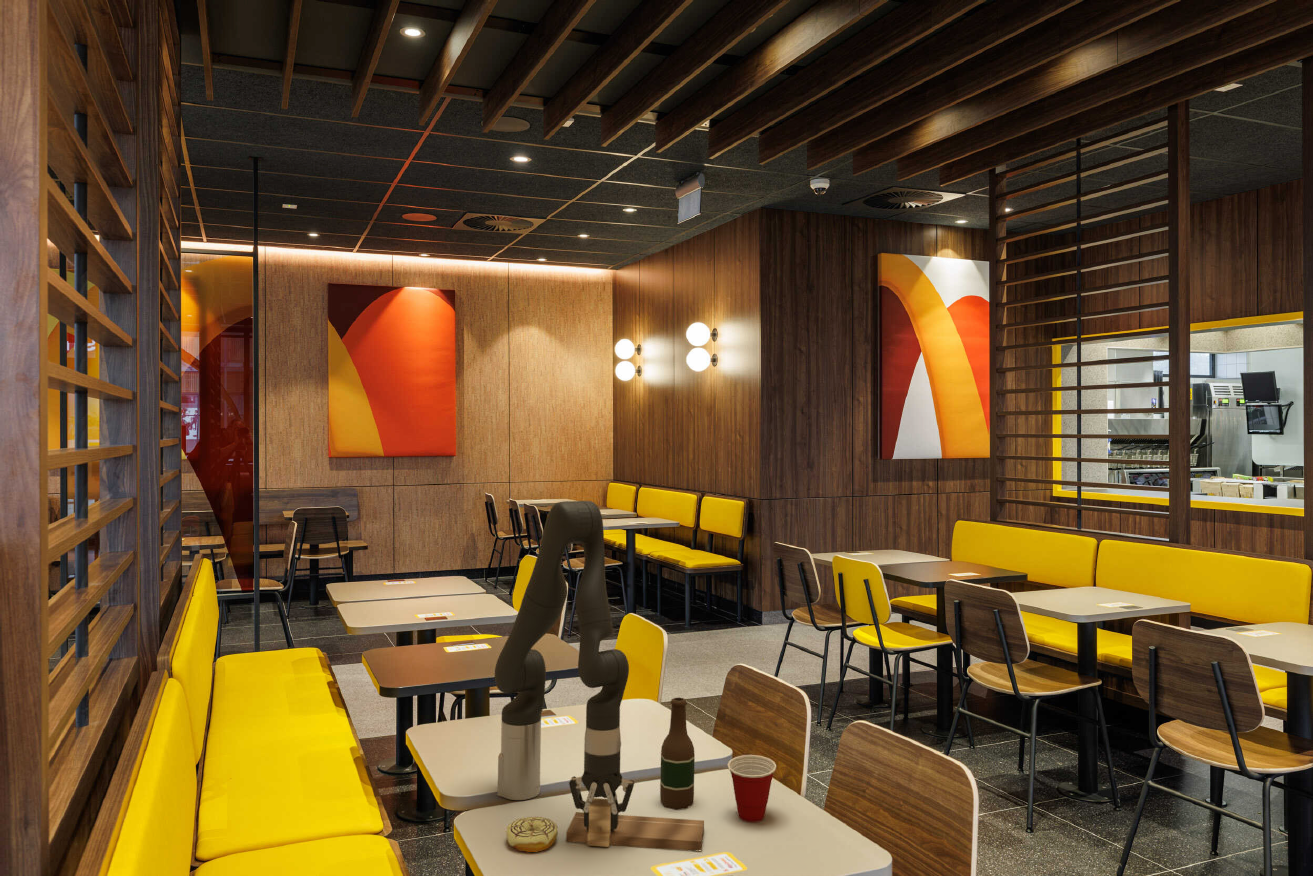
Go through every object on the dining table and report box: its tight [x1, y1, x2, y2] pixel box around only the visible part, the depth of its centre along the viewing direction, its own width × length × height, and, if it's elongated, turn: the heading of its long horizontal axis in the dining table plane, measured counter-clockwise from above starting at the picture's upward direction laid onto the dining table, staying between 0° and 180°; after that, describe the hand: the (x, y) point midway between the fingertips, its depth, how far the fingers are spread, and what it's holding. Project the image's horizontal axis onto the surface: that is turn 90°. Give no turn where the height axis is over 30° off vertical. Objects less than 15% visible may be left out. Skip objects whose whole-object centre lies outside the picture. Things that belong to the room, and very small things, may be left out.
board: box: [565, 811, 705, 851], centre depth 187 cm, size 28×10×2 cm, turn 84°
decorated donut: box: [505, 816, 559, 853], centre depth 184 cm, size 10×11×4 cm
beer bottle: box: [659, 697, 696, 810], centre depth 205 cm, size 8×8×24 cm
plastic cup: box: [727, 754, 777, 823], centre depth 198 cm, size 11×11×12 cm
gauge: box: [586, 797, 612, 848], centre depth 186 cm, size 4×10×8 cm, turn 174°
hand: (601, 829), depth 185 cm, fingers closed on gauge, 4 cm apart
